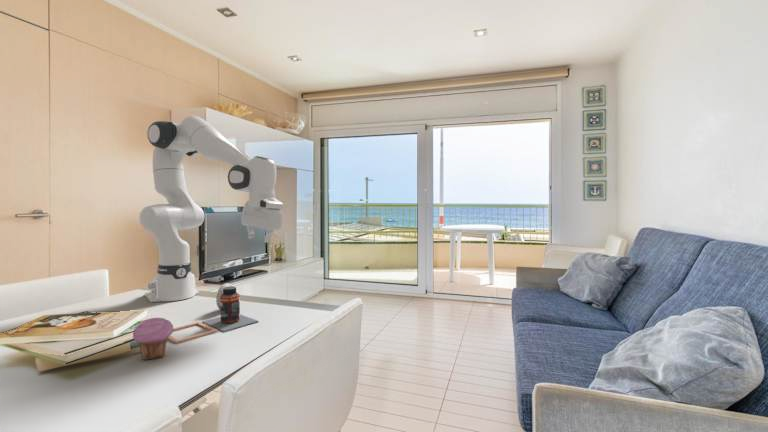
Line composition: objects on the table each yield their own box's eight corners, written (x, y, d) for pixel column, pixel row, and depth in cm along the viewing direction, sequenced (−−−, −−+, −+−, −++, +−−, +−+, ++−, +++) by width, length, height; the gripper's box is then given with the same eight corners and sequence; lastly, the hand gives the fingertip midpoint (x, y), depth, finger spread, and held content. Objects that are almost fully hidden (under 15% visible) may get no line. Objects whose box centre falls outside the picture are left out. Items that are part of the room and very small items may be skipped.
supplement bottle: (243, 318, 122) (242, 285, 122) (234, 324, 116) (233, 290, 116) (226, 317, 123) (226, 285, 122) (216, 323, 117) (216, 289, 117)
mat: (202, 322, 119) (202, 321, 119) (235, 313, 129) (235, 312, 129) (224, 332, 111) (224, 331, 111) (258, 322, 120) (258, 320, 120)
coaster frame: (158, 333, 109) (158, 332, 109) (199, 323, 118) (199, 321, 118) (176, 343, 102) (176, 341, 102) (217, 331, 111) (217, 329, 111)
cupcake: (131, 366, 88) (130, 326, 87) (135, 353, 95) (134, 316, 95) (174, 358, 92) (173, 320, 92) (173, 346, 100) (173, 311, 99)
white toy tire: (224, 314, 128) (223, 286, 127) (214, 314, 128) (214, 286, 128) (236, 306, 138) (236, 280, 137) (227, 306, 138) (227, 280, 138)
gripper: (238, 199, 133) (235, 236, 133) (270, 203, 120) (267, 244, 121) (253, 200, 138) (250, 236, 138) (286, 204, 125) (283, 243, 125)
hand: (258, 240), depth 129 cm, fingers open, 8 cm apart
